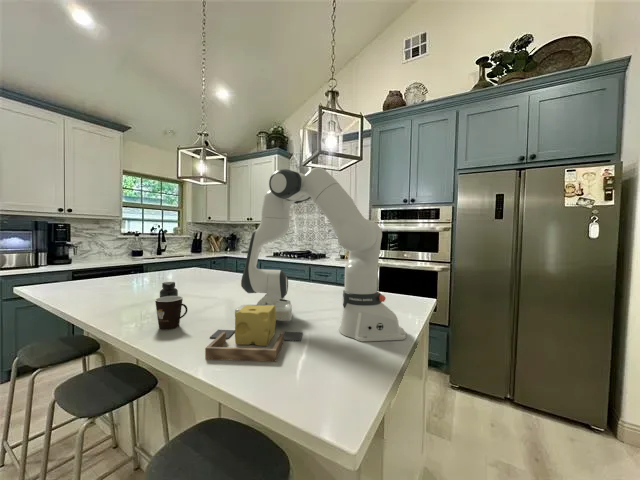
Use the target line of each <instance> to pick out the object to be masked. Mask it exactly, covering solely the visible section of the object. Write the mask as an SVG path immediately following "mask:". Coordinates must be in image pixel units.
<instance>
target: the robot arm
mask: <svg viewBox="0 0 640 480" xmlns="http://www.w3.org/2000/svg"><path fill="white" fill-rule="evenodd" d="M268 187H269V190H268V191H267V192H265V194H264V195H263V200H262V201H263V202H262V204H261V205H262V206H261V219H260V223H259V226H258V227H257V229H256V228H255V230H253V232H252V234H251V237H250V241H249V246H248V250H247V254H246V260H245V265H244V269H243V272H242V276H241V279H240V281H241V282H240V285H241V288H242V290H244V291H245V292H246V293H247V294H257V293H258V294H259V293H260V294H265V295H264V296H263V297H262V298H260V300H259V301H258V302H257V303H256V305H259V306H265V305H275V309H276V321H288V322H289V321H291V320H292V319H293V307H292V303H291V300H288V299H285V297H286V295H287V294H288V291H289V278H288V276H287V274H286V273H285V272H284V271H283V270H281V269H266V268H265V269H263V268H258V267H257V264H258V261H259V260H258V259H259V255H260V250H261V248H262V247H263V246H264V245H266V244H268V243H271V242H275V241H276V240H279V239H281V238H283V237H284V236H285V235H286V234H287V233H288V231H289V227H290V210H291V206H292V205H293V204H300V203H303V202H306V201H309V200H311V199H312V201H313V202H314V203H315V205H316V206H317V207H318V208H319V209H320V211H321V212H322V213H323V215H324V216H325V218H326V219H327V220H328V221H329V223H330V224H331V227H332V228H333V230H334V233H335V234H336V237H337V242H338V243H339V245H340V246H341V247H342V248H343V249H345V250H347V251H348V258H347V263H346V264H345V267H344V289H343V290H342V308H343V309H342V310H343V311H342V315H341V316H342V317H341V321H340V325H339V329H338V332H339V333H340V334H341V335H343V336H345V337H348V338H352V339H355V340H357V341H358V342H378V341H381V342H382V341H403V340H405V339H406V337H407V333H406V331H405V329H404V328H403V327H402V326H400V324H399V320H398V316H397V315H396V314H395V312H394V311H393V310H391V309H390V308H389V307H388V306H386V305H385V304H384V303H383V302H385V301H386V296H385V295H384V294H382V293H380V292H379V291H377V288H378V267H379V261H380V260H379V259H380V253H381V252H380V251H381V243H382V238H383V231H382V229H381V227H380V225H378V223H377V222H375V221H373V220H370V219H366V218H365V217H364V216H363V215H362V213H361V212H360V210H359V208H358V206H357V205H356V203H355V201H354V199H353V198H352V197H351V196H350V194H349V193H348V192H347V190H345V189H344V188H343V186H342V185H341V184H340V183H339V181H338V180H337V179H335V177H334V176H333V175H331V174H330V173H329V172H328V171H326V170H325V169H324V168H323V167H313V168H311V169H309V170H308V171H307V172H306V173H302V172H299V171H296V170H291V169H288V168H287V169H286V168H281V169H276V171H275V170H274V172H273V173H272V174H271V175H270V177H269V180H268ZM245 305H246V304H242V305H239V306H237V307H236V308H235V309H234V315H235V314H236V312H238V311H239V310H241V309H242V308H243V307H244V306H245Z"/></svg>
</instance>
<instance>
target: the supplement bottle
mask: <svg viewBox="0 0 640 480" xmlns="http://www.w3.org/2000/svg"><path fill="white" fill-rule="evenodd" d="M161 288H162V289H161V290H159V298H160V297H166V296H179V290H178V289H177V288H176V282H175V281H165V282H162V285H161Z"/></svg>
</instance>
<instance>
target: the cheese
mask: <svg viewBox="0 0 640 480" xmlns="http://www.w3.org/2000/svg"><path fill="white" fill-rule="evenodd" d="M244 305H245V306H244V307H243V308H242V309H241V310H239V311H238V312H236V314H235V313H234V325H235V326H234V330H235V332H234V341H235V344H236V345H241V346H242V345H244V346H245V345H246V346H247V345H252V344H253V345H255V346H259V347H268V345H269V343H270V341H271V340H272V339H273V338H274V336H275V331H276V323H277V322H276V321H277V320H276V309H275V305H265V306H259V305H257V304H244Z"/></svg>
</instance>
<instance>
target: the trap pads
mask: <svg viewBox="0 0 640 480" xmlns="http://www.w3.org/2000/svg"><path fill="white" fill-rule="evenodd" d="M222 332H226V340H229V339H230V338H231V337H232V336H233V334H235V329H217V330H216V331H215V332H214V333H212V335H210V336H209V339H211V340H212V339H214V340H215V339H216V338H217V337H218V336H219V335H220V334H221V333H222ZM303 333H304V332H302V331H284V333H283V334H284V341H285V342H301V340H302V336H303V335H304V334H303ZM284 341H283V342H284Z"/></svg>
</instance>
